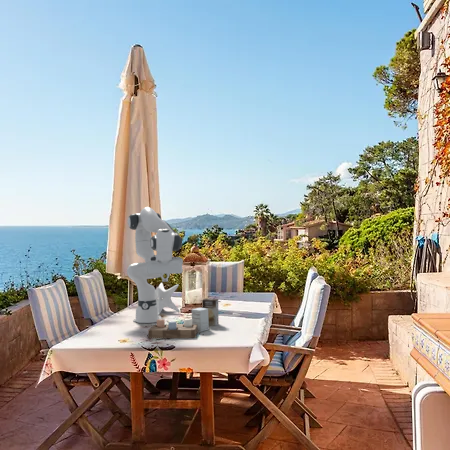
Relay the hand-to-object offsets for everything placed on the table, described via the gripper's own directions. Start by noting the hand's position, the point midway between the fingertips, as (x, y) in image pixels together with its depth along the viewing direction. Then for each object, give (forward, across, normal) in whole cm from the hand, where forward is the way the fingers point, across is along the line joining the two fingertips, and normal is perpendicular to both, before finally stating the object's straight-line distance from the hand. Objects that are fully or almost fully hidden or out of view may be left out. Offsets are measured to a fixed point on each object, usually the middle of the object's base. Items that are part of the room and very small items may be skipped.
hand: (165, 281), depth 283 cm
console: (+31, -4, -2) cm, 31 cm away
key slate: (+29, -4, +2) cm, 29 cm away
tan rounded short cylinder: (+29, +4, -5) cm, 30 cm away
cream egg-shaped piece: (+29, -12, -5) cm, 32 cm away
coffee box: (+31, -23, -30) cm, 49 cm away
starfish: (+31, +18, -80) cm, 88 cm away
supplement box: (+31, -18, -15) cm, 39 cm away
